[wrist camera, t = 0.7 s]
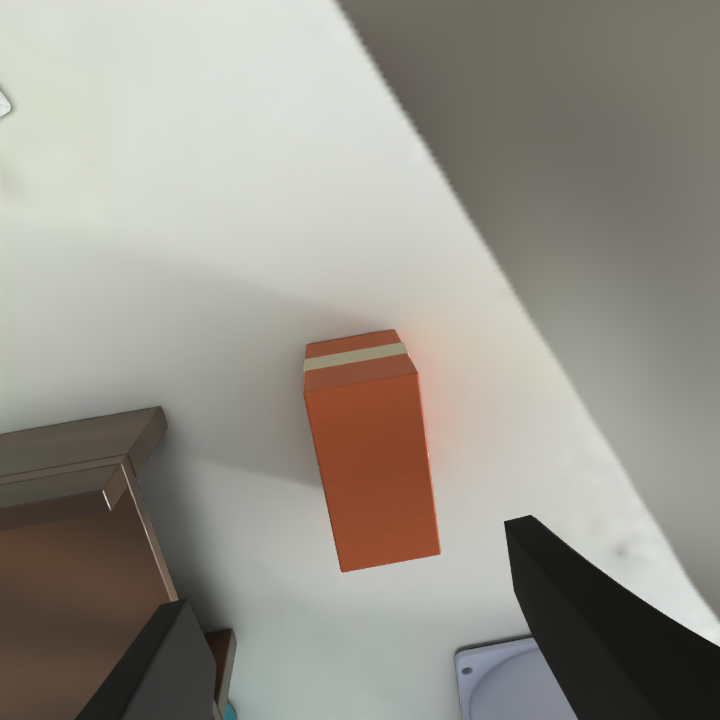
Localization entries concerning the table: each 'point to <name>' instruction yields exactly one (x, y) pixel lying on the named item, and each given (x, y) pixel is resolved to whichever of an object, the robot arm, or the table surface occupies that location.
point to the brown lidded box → (79, 563)
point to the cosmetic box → (4, 105)
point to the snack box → (371, 449)
